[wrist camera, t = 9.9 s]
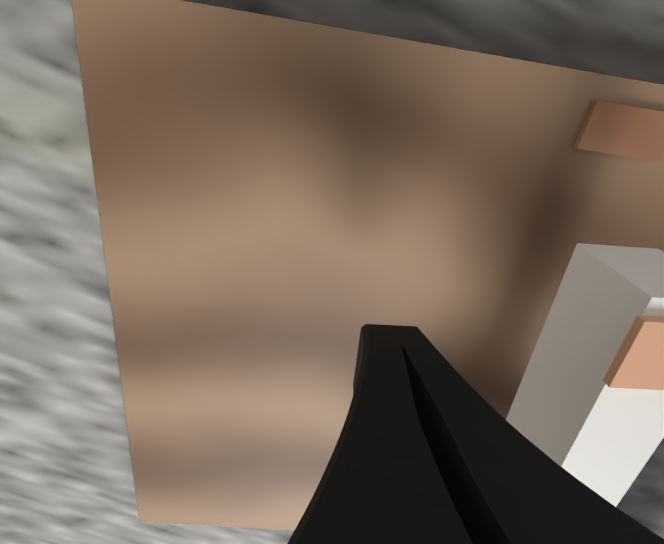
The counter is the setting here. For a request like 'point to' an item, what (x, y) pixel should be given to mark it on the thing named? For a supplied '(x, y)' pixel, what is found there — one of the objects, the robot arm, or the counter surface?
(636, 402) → the white long piece
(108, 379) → the counter surface
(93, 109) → the board
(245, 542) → the counter surface
